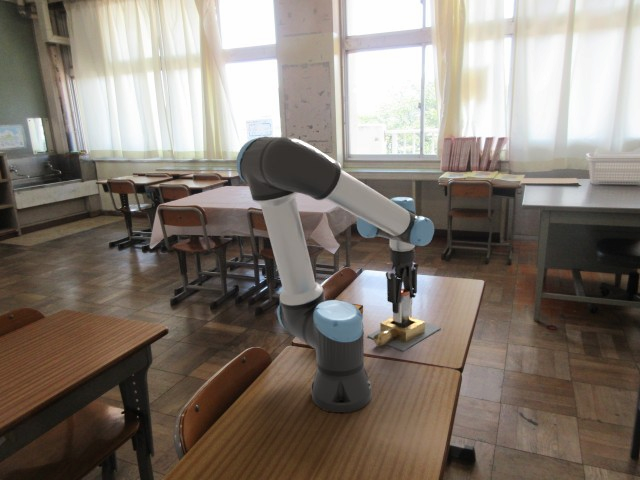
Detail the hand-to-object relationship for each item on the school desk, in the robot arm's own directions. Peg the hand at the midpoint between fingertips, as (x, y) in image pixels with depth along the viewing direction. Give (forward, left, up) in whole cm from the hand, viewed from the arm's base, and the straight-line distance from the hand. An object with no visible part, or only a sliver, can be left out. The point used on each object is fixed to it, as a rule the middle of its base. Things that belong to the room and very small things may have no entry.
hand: (402, 318), depth 141 cm
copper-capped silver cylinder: (0, 0, -3) cm, 3 cm away
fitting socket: (-3, 0, -5) cm, 6 cm away
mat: (+1, 0, -5) cm, 5 cm away
